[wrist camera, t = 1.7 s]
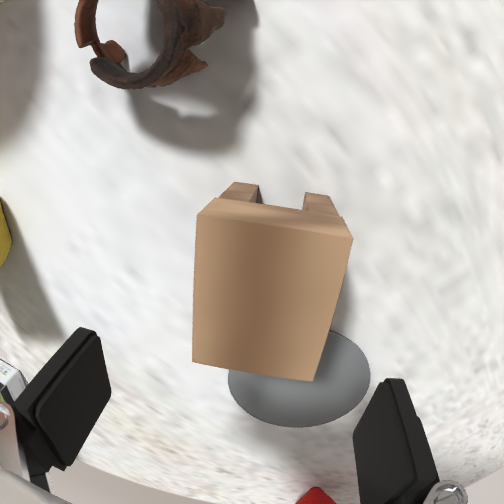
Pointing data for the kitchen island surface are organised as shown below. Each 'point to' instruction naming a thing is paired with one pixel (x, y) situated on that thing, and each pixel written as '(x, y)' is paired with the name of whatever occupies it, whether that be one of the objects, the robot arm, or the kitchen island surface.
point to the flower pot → (4, 238)
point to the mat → (307, 388)
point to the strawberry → (315, 497)
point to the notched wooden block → (266, 282)
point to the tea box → (10, 383)
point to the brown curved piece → (173, 50)
